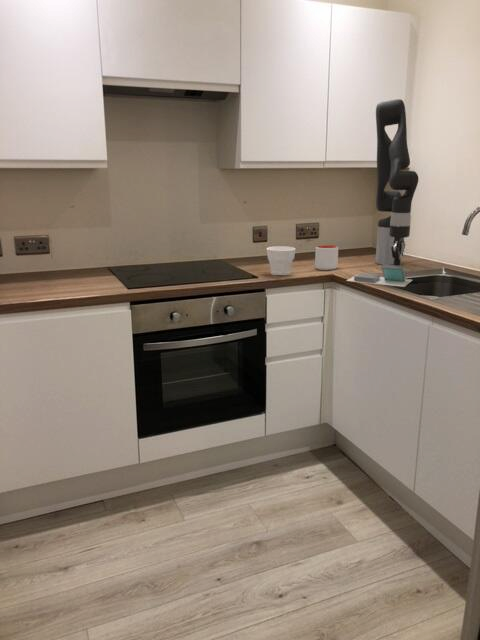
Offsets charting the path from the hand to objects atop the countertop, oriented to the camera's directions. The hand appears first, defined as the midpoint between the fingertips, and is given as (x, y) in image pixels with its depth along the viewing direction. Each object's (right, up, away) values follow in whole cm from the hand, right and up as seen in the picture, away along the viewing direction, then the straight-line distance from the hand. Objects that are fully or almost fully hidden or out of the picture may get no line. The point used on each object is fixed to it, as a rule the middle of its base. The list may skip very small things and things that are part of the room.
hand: (396, 268), depth 205 cm
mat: (-7, -5, +1) cm, 8 cm away
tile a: (-9, -3, +5) cm, 11 cm away
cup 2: (-24, +2, +28) cm, 36 cm away
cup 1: (-45, -1, +18) cm, 48 cm away
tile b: (0, -4, +1) cm, 4 cm away
